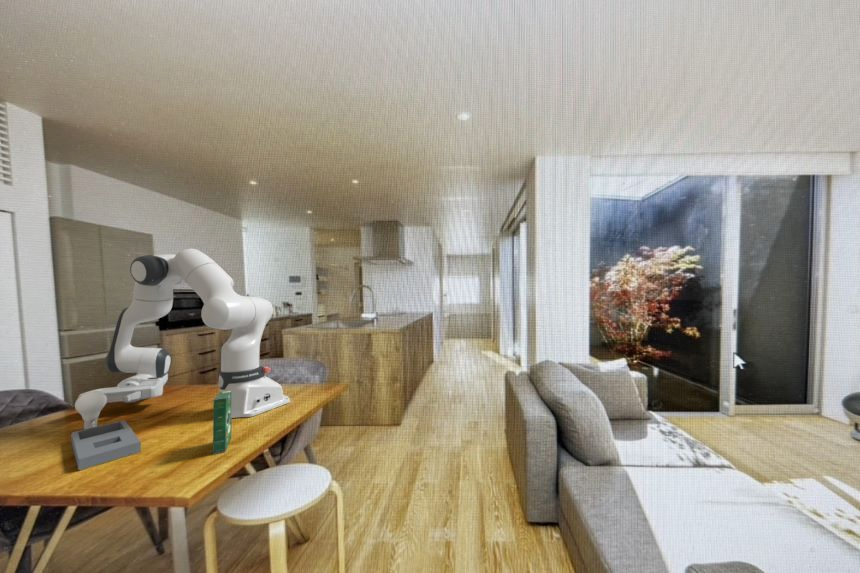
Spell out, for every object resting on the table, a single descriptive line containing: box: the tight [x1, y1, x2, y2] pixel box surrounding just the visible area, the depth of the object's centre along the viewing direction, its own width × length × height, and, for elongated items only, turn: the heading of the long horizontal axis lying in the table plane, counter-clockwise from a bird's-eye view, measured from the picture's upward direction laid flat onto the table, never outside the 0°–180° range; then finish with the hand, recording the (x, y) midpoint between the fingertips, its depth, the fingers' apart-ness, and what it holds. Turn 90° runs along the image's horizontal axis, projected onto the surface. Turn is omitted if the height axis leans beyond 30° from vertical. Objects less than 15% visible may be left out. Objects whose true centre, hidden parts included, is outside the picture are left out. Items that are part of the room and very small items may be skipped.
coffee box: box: [212, 391, 232, 455], centre depth 76 cm, size 8×3×13 cm, turn 25°
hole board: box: [70, 419, 142, 471], centre depth 77 cm, size 10×24×2 cm, turn 53°
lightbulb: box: [74, 391, 108, 430], centre depth 88 cm, size 6×6×11 cm
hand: (106, 401), depth 94 cm, fingers open, 8 cm apart
